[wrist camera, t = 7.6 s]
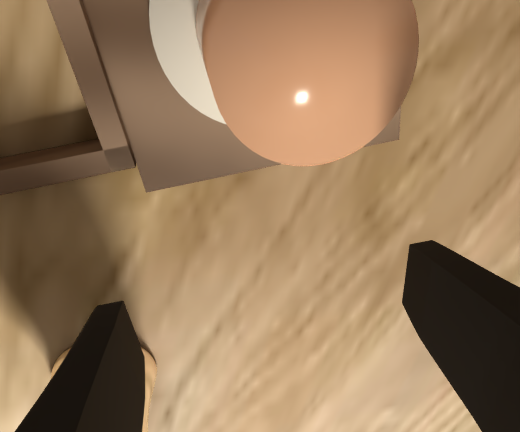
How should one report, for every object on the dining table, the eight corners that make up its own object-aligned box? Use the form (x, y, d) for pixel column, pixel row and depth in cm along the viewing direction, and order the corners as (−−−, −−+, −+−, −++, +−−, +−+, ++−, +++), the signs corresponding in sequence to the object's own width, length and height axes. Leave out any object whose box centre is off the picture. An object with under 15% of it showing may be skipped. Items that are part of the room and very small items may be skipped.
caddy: (-278, -113, 12) (-330, -121, 11) (402, -206, 14) (426, -223, 12) (-52, 223, 19) (-68, 242, 17) (389, 132, 20) (404, 143, 19)
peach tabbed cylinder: (208, 103, 17) (227, 181, 11) (169, -118, 13) (166, -185, 7) (327, 84, 17) (408, 149, 11) (324, -135, 13) (444, -211, 7)
